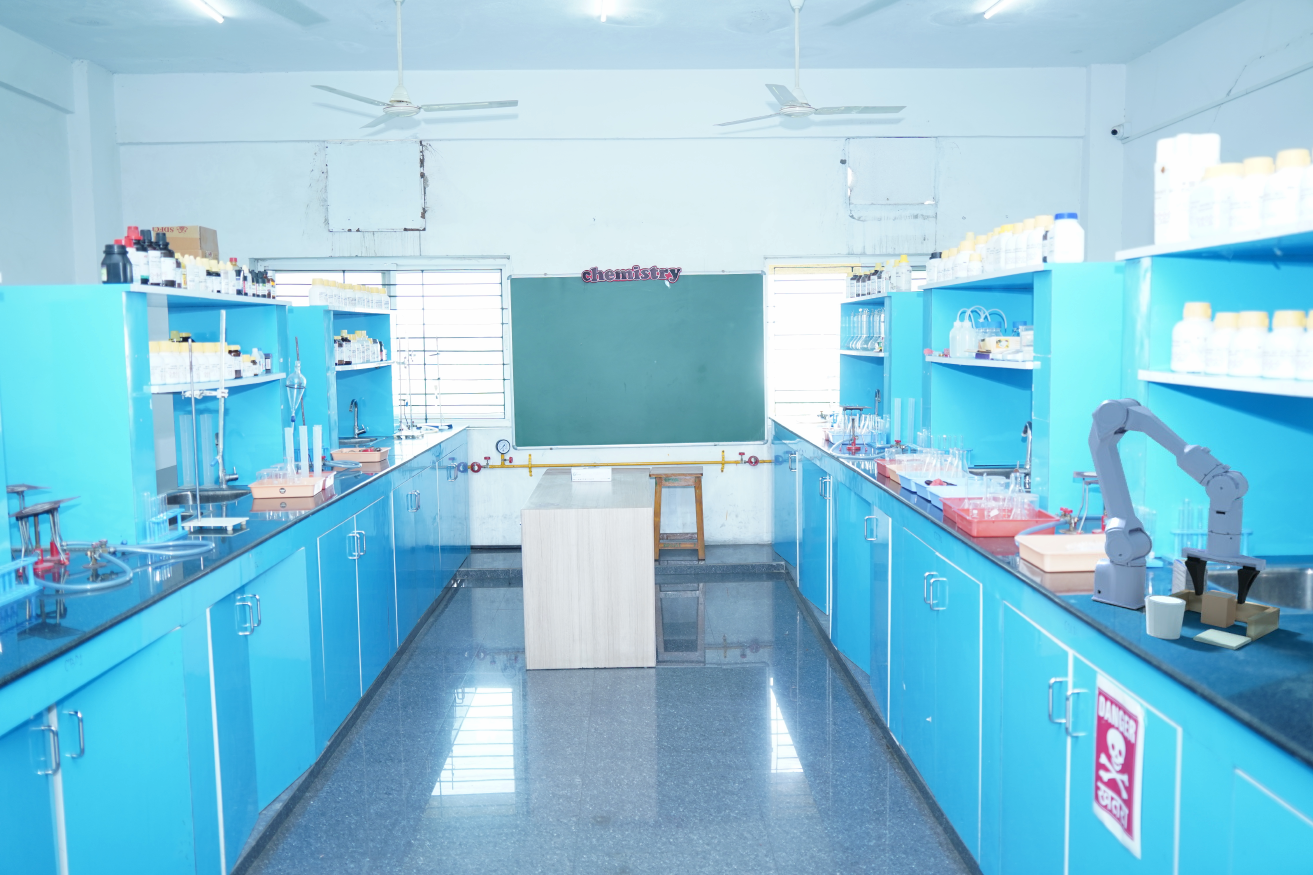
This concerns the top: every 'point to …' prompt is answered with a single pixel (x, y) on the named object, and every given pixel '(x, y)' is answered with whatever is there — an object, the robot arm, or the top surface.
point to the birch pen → (1240, 613)
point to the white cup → (1164, 616)
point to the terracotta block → (1218, 608)
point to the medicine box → (1184, 577)
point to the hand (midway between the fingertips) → (1219, 598)
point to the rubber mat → (1222, 639)
